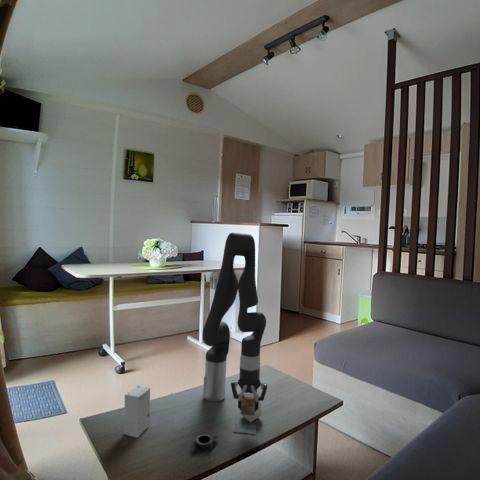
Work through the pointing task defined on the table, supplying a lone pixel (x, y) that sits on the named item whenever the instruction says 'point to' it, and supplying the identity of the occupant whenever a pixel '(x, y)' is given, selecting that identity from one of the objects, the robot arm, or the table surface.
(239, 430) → the pad
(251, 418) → the die
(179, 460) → the table surface
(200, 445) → the black round bracket
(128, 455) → the table surface
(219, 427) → the table surface
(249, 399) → the brown rectangular block
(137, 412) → the skincare box
